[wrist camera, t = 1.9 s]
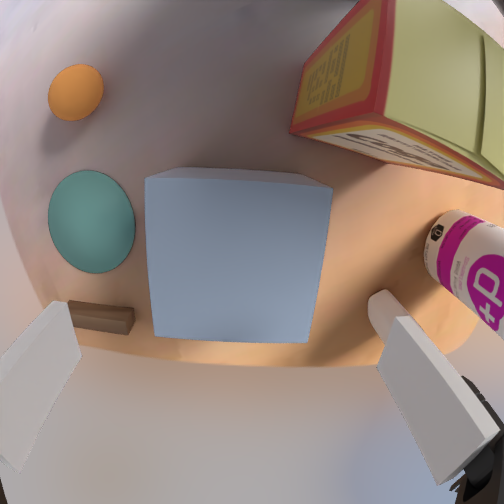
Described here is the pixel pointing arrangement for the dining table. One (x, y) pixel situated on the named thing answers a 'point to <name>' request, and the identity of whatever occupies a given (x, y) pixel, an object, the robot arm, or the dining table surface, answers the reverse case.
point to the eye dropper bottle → (385, 312)
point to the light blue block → (235, 253)
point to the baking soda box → (408, 90)
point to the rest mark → (91, 221)
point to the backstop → (101, 317)
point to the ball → (75, 92)
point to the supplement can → (469, 263)
